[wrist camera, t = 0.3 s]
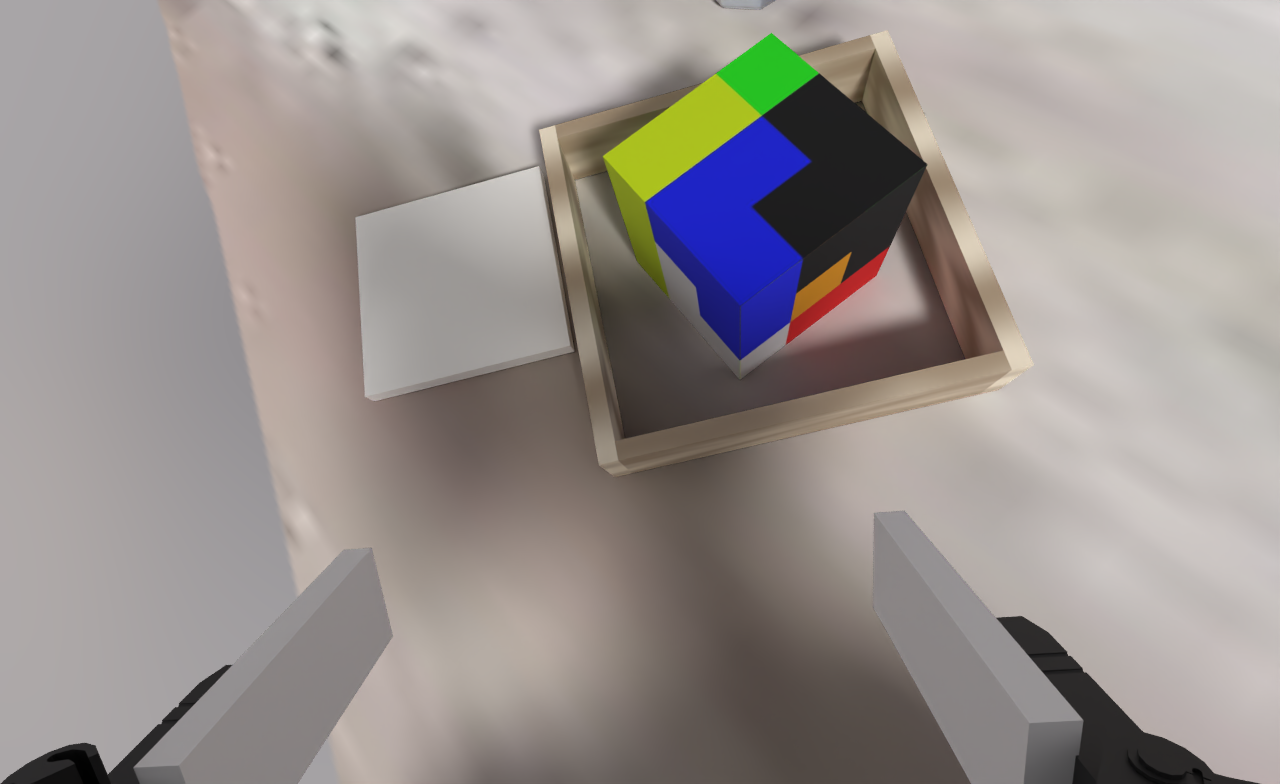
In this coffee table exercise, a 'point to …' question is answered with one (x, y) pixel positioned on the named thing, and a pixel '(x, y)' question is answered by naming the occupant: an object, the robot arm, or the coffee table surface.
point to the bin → (988, 366)
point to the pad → (460, 286)
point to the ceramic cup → (745, 4)
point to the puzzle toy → (762, 201)
